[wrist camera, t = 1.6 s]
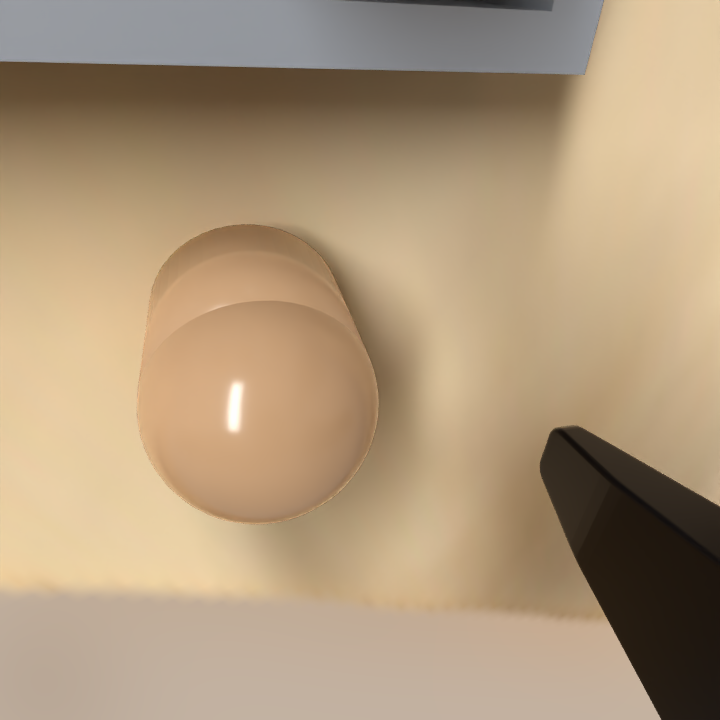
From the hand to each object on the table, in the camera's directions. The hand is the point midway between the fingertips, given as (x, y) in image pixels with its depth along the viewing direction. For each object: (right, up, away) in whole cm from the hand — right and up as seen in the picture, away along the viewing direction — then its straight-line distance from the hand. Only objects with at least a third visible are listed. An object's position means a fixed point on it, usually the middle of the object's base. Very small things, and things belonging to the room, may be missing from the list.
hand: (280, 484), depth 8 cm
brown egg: (-2, +4, +5) cm, 6 cm away
